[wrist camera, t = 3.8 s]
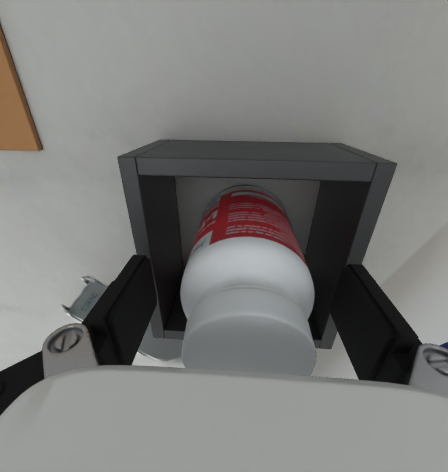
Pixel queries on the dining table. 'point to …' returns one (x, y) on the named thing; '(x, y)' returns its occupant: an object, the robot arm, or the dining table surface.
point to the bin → (255, 167)
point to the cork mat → (14, 108)
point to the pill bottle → (247, 289)
